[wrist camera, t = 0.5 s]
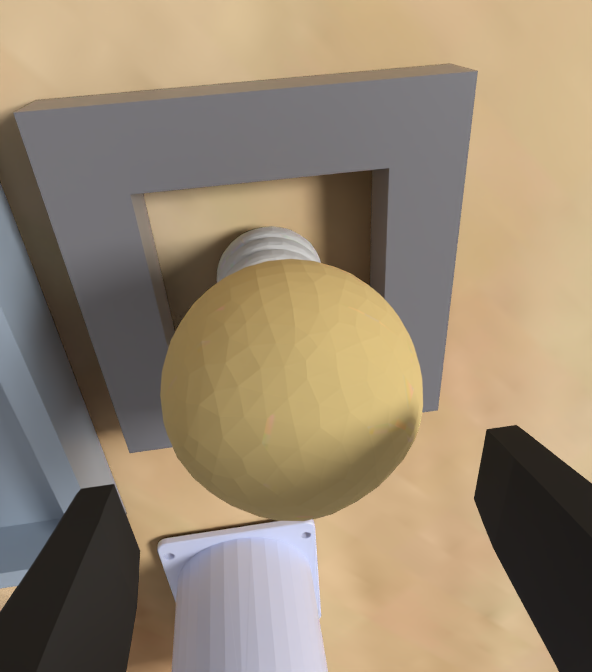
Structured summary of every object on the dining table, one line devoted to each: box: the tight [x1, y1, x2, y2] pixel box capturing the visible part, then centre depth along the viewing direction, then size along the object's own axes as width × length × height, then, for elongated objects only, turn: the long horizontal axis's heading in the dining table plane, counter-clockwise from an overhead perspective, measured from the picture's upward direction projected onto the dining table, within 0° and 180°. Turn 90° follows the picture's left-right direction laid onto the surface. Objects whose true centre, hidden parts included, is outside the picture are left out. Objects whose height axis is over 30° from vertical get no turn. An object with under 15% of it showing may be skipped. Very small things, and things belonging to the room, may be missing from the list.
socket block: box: [13, 64, 478, 453], centre depth 18 cm, size 12×12×2 cm
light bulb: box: [160, 227, 423, 521], centre depth 15 cm, size 6×6×10 cm
